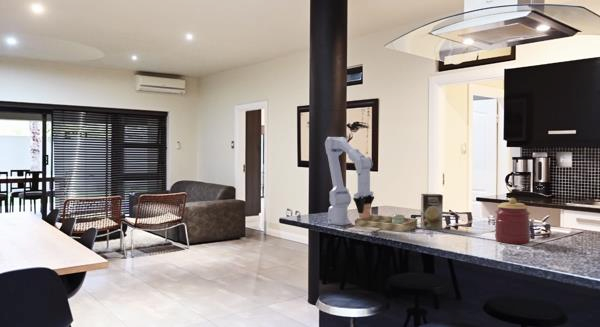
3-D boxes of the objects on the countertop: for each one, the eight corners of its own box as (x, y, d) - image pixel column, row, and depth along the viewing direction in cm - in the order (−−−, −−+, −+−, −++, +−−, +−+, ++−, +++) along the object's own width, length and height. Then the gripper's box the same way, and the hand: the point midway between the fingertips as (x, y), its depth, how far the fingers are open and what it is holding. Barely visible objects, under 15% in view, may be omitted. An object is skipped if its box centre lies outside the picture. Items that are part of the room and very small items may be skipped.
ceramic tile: (347, 229, 216) (347, 228, 216) (357, 227, 224) (357, 225, 224) (370, 232, 209) (370, 231, 209) (380, 229, 216) (380, 228, 216)
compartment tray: (355, 226, 226) (354, 218, 226) (370, 222, 238) (370, 214, 238) (403, 231, 210) (403, 223, 210) (417, 227, 222) (417, 218, 222)
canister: (515, 245, 179) (515, 200, 178) (488, 240, 191) (488, 197, 190) (537, 242, 185) (537, 198, 184) (509, 236, 197) (509, 195, 196)
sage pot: (389, 228, 219) (389, 215, 219) (394, 226, 224) (394, 214, 224) (400, 229, 216) (400, 216, 215) (406, 228, 220) (406, 215, 220)
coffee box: (422, 229, 216) (422, 195, 216) (420, 227, 223) (420, 193, 222) (442, 229, 215) (442, 195, 215) (440, 227, 222) (440, 193, 221)
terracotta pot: (356, 217, 216) (355, 204, 215) (362, 214, 221) (361, 202, 220) (367, 218, 212) (366, 205, 212) (373, 215, 217) (372, 202, 216)
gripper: (363, 184, 207) (363, 214, 208) (378, 182, 219) (379, 211, 219) (350, 184, 212) (350, 213, 212) (365, 182, 223) (365, 210, 224)
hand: (363, 212), depth 216 cm, fingers closed on terracotta pot, 6 cm apart
